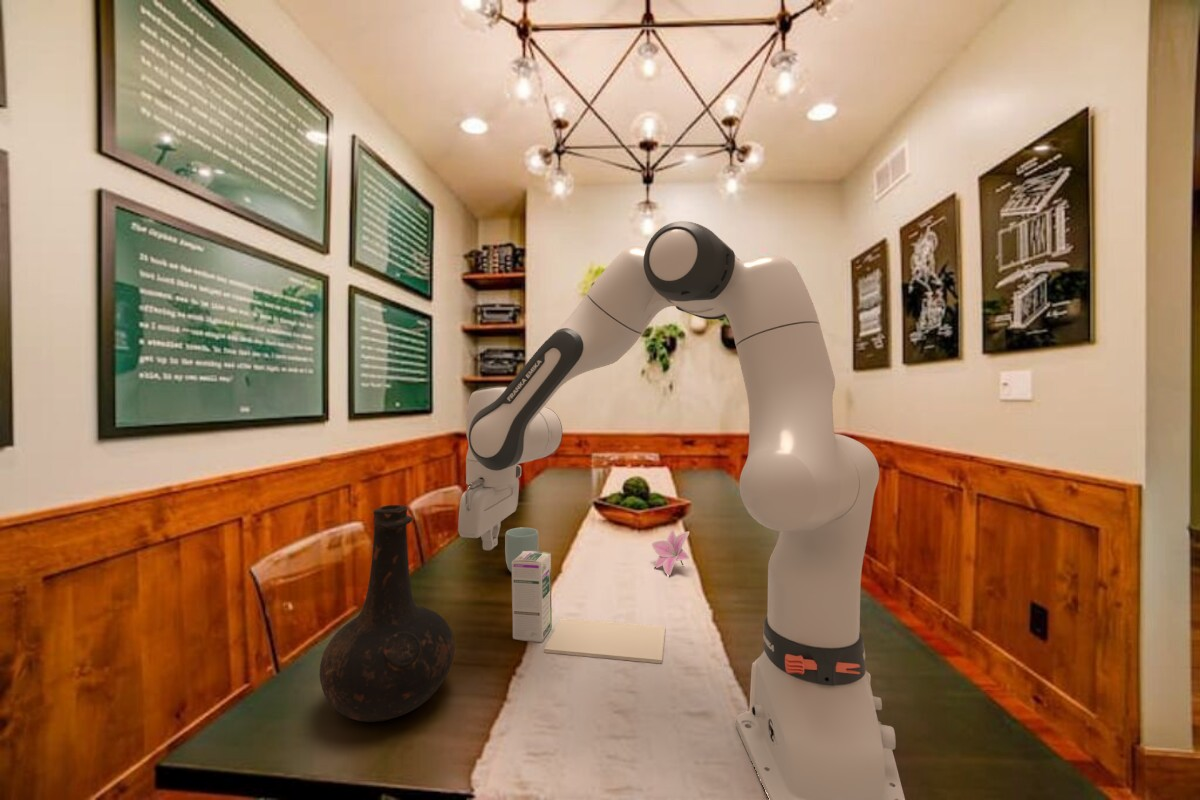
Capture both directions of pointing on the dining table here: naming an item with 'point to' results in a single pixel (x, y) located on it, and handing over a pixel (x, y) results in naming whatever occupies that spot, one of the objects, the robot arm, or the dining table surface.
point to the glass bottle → (387, 637)
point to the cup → (519, 543)
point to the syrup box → (531, 596)
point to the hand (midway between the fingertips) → (490, 547)
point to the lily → (670, 551)
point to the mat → (608, 640)
